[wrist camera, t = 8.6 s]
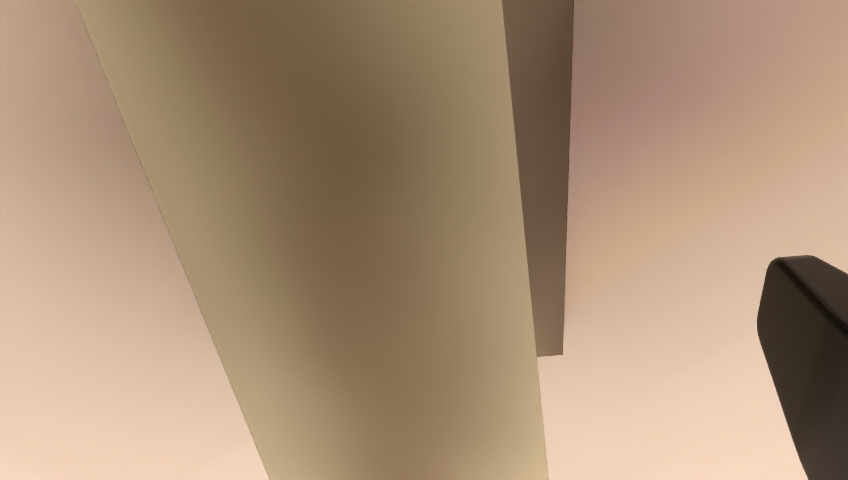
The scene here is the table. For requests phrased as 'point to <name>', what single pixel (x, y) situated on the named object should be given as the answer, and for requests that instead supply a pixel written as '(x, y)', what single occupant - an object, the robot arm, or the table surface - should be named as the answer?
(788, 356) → the robot arm
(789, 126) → the table surface
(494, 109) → the beige wooden block
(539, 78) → the peg stand
